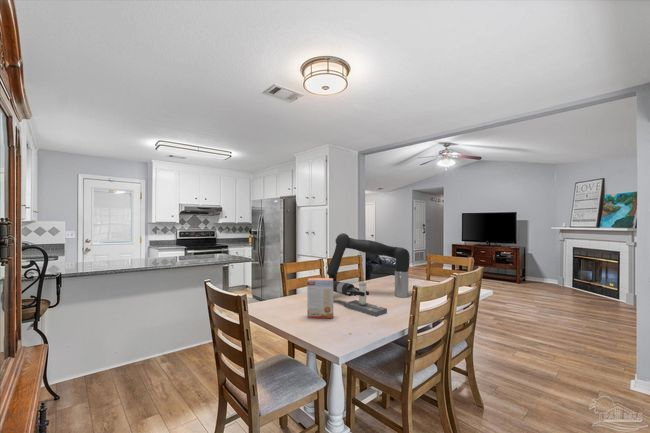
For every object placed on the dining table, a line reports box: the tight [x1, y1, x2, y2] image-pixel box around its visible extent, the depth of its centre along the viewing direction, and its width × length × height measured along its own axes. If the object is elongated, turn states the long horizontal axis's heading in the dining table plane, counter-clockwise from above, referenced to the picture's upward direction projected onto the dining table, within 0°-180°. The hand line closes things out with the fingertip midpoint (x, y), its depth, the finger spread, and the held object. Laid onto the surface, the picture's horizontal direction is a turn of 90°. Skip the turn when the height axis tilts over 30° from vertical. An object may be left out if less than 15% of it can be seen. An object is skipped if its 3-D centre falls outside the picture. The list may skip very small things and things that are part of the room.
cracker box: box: [306, 277, 334, 319], centre depth 173 cm, size 14×6×21 cm, turn 84°
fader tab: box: [358, 281, 368, 305], centre depth 187 cm, size 4×4×13 cm
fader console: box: [344, 299, 388, 317], centre depth 186 cm, size 24×10×3 cm, turn 42°
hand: (366, 294), depth 185 cm, fingers closed on fader tab, 3 cm apart
